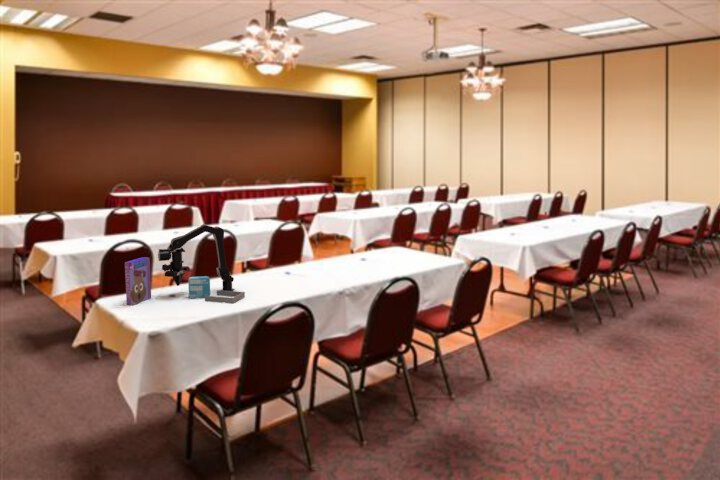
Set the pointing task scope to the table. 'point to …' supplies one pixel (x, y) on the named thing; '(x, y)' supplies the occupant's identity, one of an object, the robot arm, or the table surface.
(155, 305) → the table surface
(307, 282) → the table surface
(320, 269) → the table surface
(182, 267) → the robot arm
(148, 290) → the cereal box
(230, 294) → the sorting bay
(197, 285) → the data package
